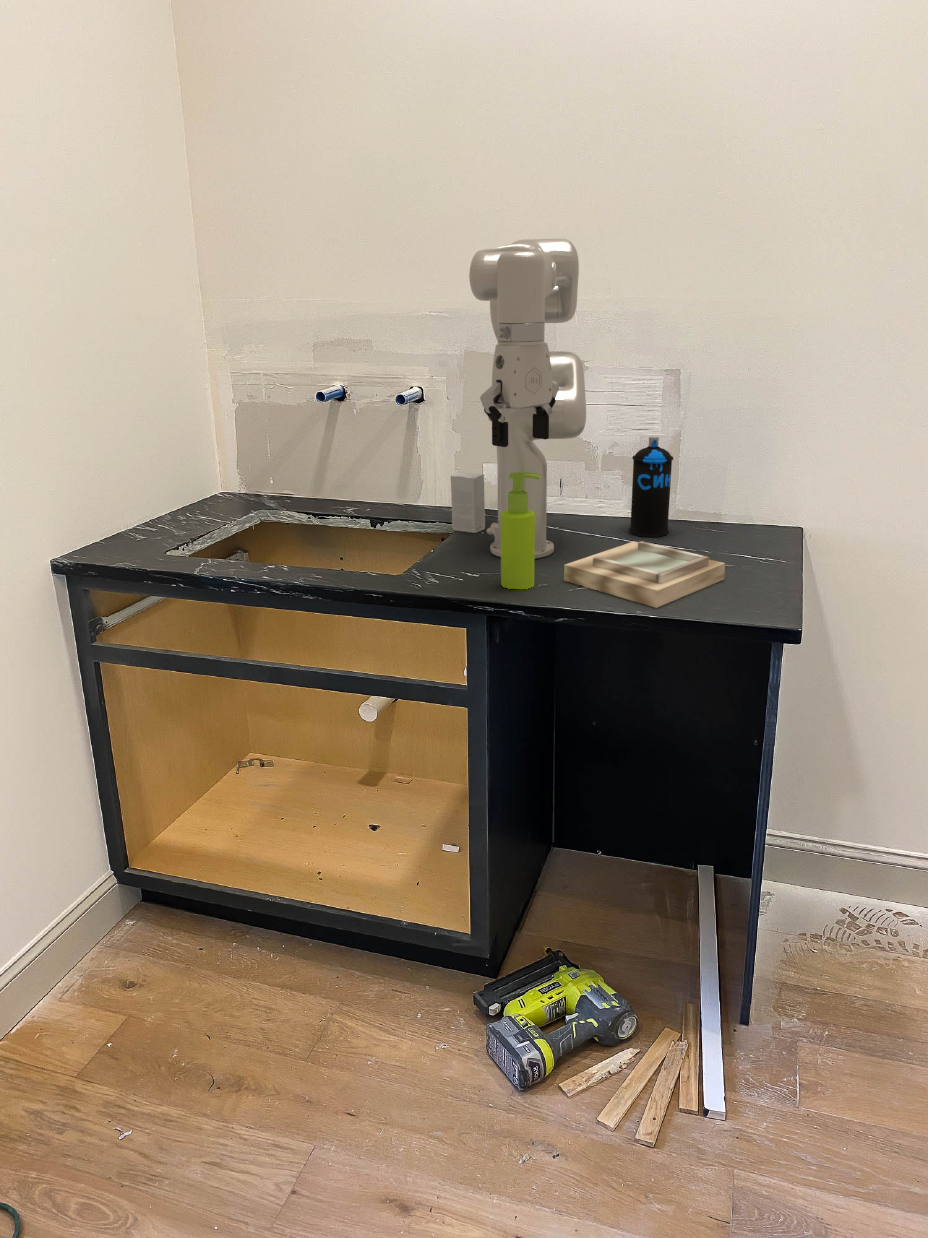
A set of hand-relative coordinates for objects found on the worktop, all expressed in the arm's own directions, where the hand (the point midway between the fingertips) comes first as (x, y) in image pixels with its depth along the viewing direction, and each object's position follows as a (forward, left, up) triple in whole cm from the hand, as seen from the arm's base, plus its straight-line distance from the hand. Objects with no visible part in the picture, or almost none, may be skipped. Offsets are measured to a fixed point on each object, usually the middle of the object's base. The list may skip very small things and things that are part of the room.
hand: (520, 442), depth 150 cm
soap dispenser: (0, 0, -26) cm, 26 cm away
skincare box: (-34, +19, -26) cm, 46 cm away
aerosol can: (-4, +43, -26) cm, 50 cm away
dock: (+14, +17, -25) cm, 34 cm away
